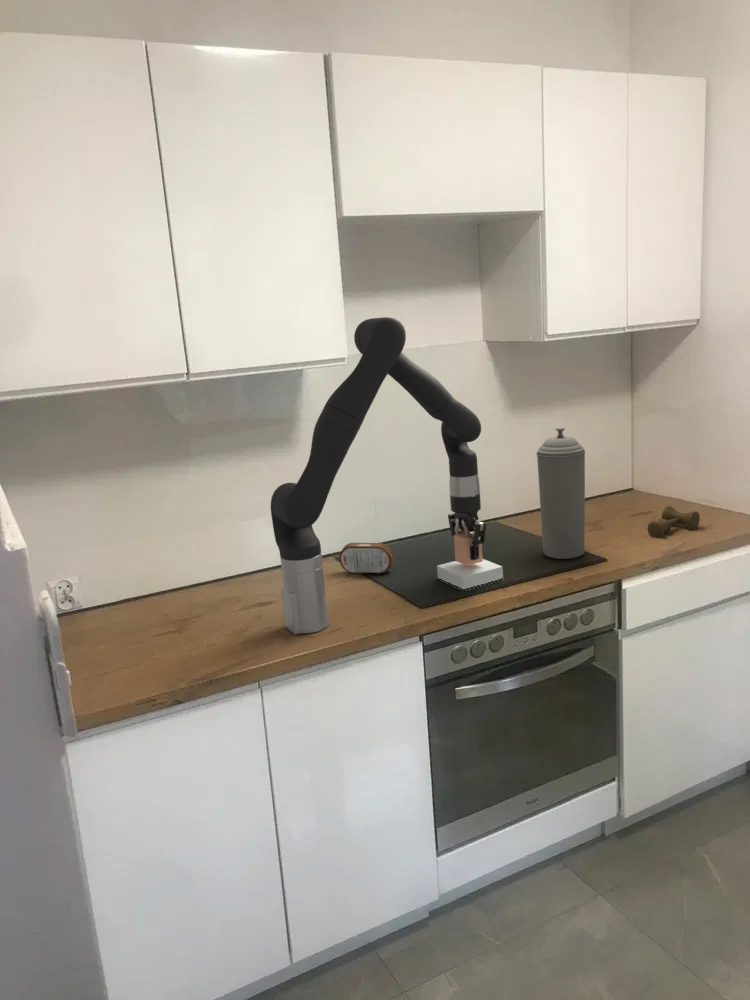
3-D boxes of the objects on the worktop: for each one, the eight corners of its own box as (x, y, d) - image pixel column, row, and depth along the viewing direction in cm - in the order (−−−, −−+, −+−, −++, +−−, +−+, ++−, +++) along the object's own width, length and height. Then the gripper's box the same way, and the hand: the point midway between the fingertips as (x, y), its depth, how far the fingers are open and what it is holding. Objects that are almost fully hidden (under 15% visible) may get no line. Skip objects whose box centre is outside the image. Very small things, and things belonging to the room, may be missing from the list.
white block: (464, 592, 194) (462, 577, 193) (438, 580, 204) (437, 565, 203) (503, 581, 199) (502, 566, 198) (476, 570, 210) (475, 555, 209)
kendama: (639, 537, 227) (677, 519, 238) (669, 543, 219) (707, 525, 231) (639, 517, 225) (677, 500, 237) (669, 523, 218) (708, 506, 229)
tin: (395, 571, 213) (393, 541, 211) (392, 575, 210) (390, 545, 208) (342, 571, 217) (340, 541, 216) (339, 574, 215) (336, 545, 213)
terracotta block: (466, 565, 197) (464, 538, 196) (455, 561, 202) (453, 534, 200) (482, 561, 200) (481, 535, 198) (471, 556, 204) (469, 531, 202)
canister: (542, 547, 223) (537, 425, 215) (588, 547, 219) (585, 422, 211) (538, 561, 211) (533, 432, 203) (587, 561, 207) (584, 430, 199)
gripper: (436, 490, 201) (441, 553, 205) (468, 499, 189) (472, 566, 192) (461, 485, 204) (465, 547, 208) (494, 493, 192) (497, 560, 196)
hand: (468, 556), depth 200 cm, fingers closed on terracotta block, 5 cm apart
